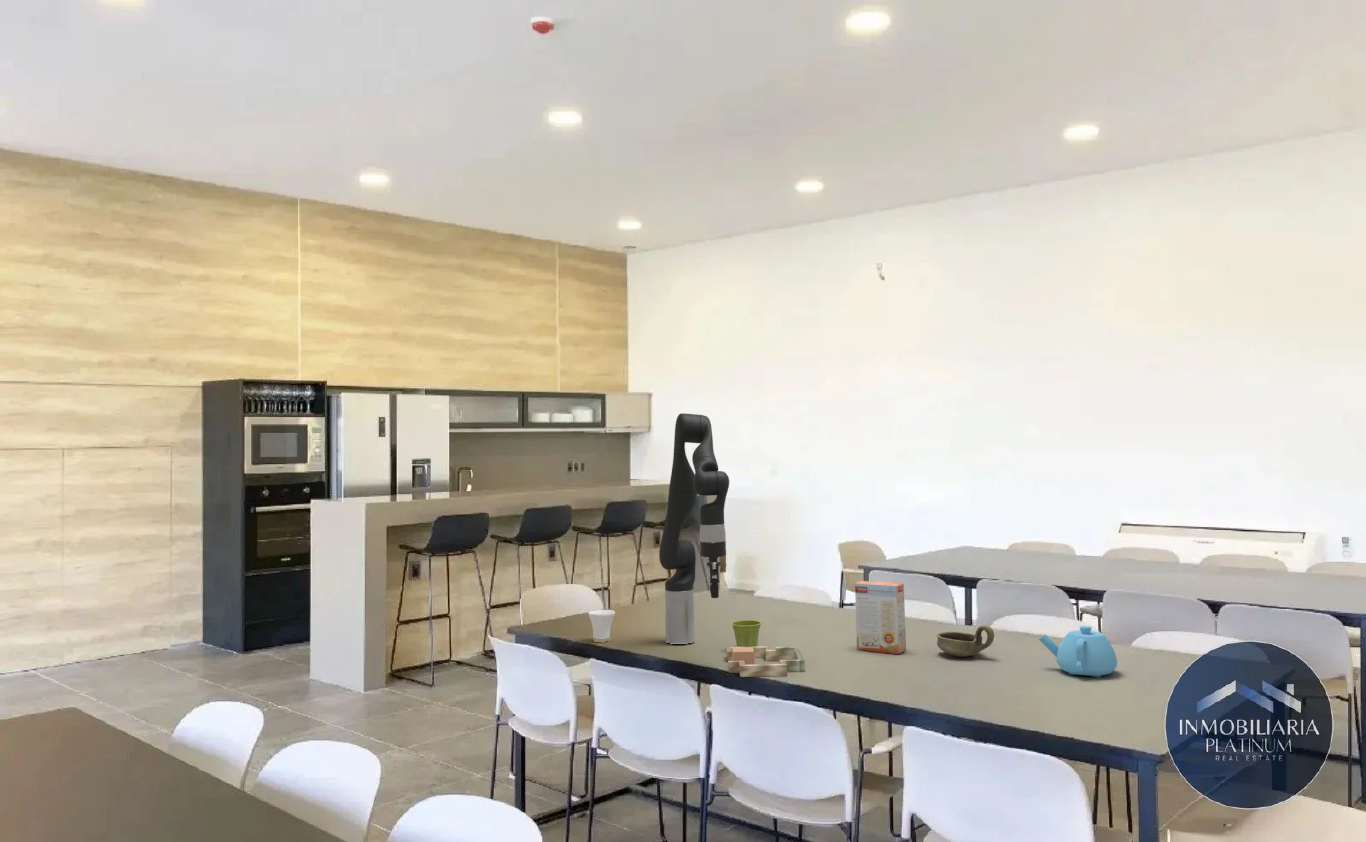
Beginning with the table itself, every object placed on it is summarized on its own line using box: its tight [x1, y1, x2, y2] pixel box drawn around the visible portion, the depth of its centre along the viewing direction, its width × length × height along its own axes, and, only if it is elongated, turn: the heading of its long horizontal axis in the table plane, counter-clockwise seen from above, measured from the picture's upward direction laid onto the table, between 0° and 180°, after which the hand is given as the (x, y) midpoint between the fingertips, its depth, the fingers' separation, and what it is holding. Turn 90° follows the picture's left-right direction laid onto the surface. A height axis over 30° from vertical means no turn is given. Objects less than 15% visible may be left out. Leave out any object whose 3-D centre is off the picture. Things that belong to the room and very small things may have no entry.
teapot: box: [1038, 625, 1118, 678], centre depth 268 cm, size 20×20×13 cm
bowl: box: [936, 624, 995, 658], centre depth 290 cm, size 14×18×10 cm
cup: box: [587, 609, 616, 639], centre depth 324 cm, size 9×9×10 cm
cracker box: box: [854, 580, 907, 655], centre depth 300 cm, size 14×6×21 cm, turn 53°
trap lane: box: [726, 645, 806, 678], centre depth 284 cm, size 22×25×4 cm
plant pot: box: [730, 619, 762, 647], centre depth 305 cm, size 9×9×9 cm
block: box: [732, 647, 755, 665], centre depth 284 cm, size 6×6×5 cm
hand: (714, 595), depth 285 cm, fingers open, 8 cm apart
